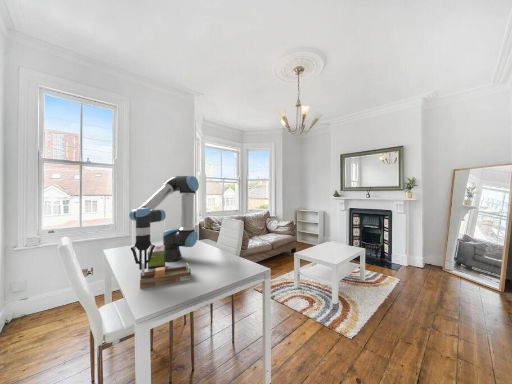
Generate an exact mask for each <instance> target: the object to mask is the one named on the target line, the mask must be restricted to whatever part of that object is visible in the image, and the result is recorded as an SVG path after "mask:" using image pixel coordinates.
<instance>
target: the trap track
mask: <svg viewBox="0 0 512 384" xmlns="http://www.w3.org/2000/svg"><path fill="white" fill-rule="evenodd" d="M191 271H192V270H191V267H190V265H189V263H188V262H185V265H183V266H178V267H169V268H165V276H160V277H156V275H155V271H149V272H148V271H144V275H143V276H142V272H140V279H139V289H144V288H150V287H157V286H161V285H168V284H172V283H177V282H178V283H179V282H185V281H188V280H191V276H192V275H191V274H192V273H191Z"/></svg>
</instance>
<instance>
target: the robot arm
mask: <svg viewBox="0 0 512 384" xmlns="http://www.w3.org/2000/svg"><path fill="white" fill-rule="evenodd" d="M199 187H200V184H199V180H198V179H197V177H196V176H195V175H176V176H173V177H171V178H169V179H168V180H166V181H164V183H162V185H161V187H160V188H159V189H158V190H157V191H156V192H155V193H153V195H151V196H150V197H149V198H148V199H147V200H146V201H145V202H144V203H143V204H142V205H141V206H139V207H137V208H133V209H131V210H130V212H129V213H128V214H129V217H128V218H129V219H130V221H134V222H135V234H136V235H135V243H134V245H133V246H131V247H130V250H131V252H132V254H133V258H134V261H135V264H137V265H138V267H139V271H141V273H142V276H143V275H144V272H145V270H146V269H148V262H150V260H151V256H152V252H153V249H154V248H155V246H156V245H155V244H153V243H152V242H151V223H158V222H162V221H164V220H165V219H166V215H167V214H166V211H164V209H156V208H157V207H158V206H160V204H161V203H162V202H164V201H165V199H167V198H168V196H170V195H172V194H174V193H175V192H179V194H180V195H181V205H180V206H181V212H180V213H181V214H180V215H181V216H180V227H177V228H176V227H175V228H169V229H166V230H164V231H163V234H162V239H163V241H162V243H163V245H165V263H166V262H176V261H179V260H181V259H182V257H183V256H182V252H181V249H180V247H183V248H192V247H195V245H196V243H197V242H198V237H199V236H198V235H199V234H198V232H197V231H195V228H194V226H193V225H194V224H193V223H194V220H193V219H194V195H196V192H198V190H199ZM150 247H151V250H150V254H149V257H148V252H147V251H148V250H149V248H150ZM136 249H137V250H138V251H139V255H138V254H137V251H136ZM143 251H144V254H143ZM142 254H143V255H144V259H143V255H142ZM138 258H139V259H138ZM142 259H143V260H144V261H143V260H142ZM142 261H143V262H142Z"/></svg>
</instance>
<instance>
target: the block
mask: <svg viewBox="0 0 512 384" xmlns="http://www.w3.org/2000/svg"><path fill="white" fill-rule="evenodd" d="M165 269H166V267H165V268H164V267H159V268H155V275H156V277H160V276H165Z"/></svg>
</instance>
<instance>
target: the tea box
mask: <svg viewBox="0 0 512 384" xmlns="http://www.w3.org/2000/svg"><path fill="white" fill-rule="evenodd" d="M150 250H151V246H150V247H149V248H148V250H147V251H148V252H147V258H148V257H149V254H150ZM159 267H164V268H165V269H166V261H165V245H155V248H154V249H153V252H152V256H151V260H150V262H148V263H147V272H149V271H155V268H159Z"/></svg>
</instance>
